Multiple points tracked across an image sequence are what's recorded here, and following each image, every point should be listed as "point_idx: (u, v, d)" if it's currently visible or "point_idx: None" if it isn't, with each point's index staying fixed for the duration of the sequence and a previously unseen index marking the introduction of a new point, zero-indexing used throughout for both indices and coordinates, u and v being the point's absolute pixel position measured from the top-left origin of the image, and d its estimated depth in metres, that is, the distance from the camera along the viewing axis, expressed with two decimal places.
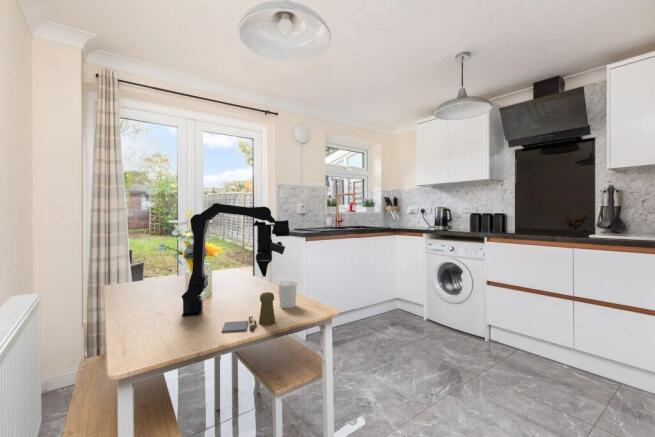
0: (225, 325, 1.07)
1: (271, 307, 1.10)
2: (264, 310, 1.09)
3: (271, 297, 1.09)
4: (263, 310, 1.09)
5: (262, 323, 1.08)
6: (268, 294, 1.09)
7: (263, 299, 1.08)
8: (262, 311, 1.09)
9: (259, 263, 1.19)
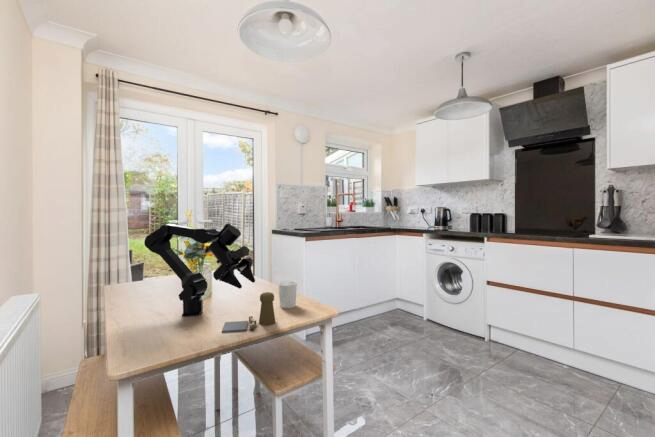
0: (225, 325, 1.07)
1: (271, 307, 1.10)
2: (264, 310, 1.09)
3: (271, 297, 1.09)
4: (263, 310, 1.09)
5: (262, 323, 1.08)
6: (268, 294, 1.09)
7: (263, 299, 1.08)
8: (262, 311, 1.09)
9: (225, 280, 1.08)
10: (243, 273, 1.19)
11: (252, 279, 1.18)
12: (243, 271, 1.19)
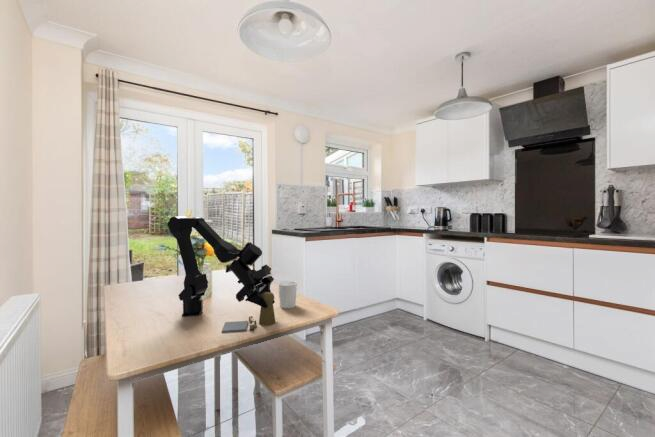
0: (225, 325, 1.07)
1: (271, 307, 1.10)
2: (264, 310, 1.09)
3: (271, 297, 1.09)
4: (263, 310, 1.09)
5: (262, 323, 1.08)
6: (268, 294, 1.09)
7: None
8: (262, 311, 1.09)
9: (251, 300, 1.08)
10: None
11: None
12: (262, 291, 1.15)
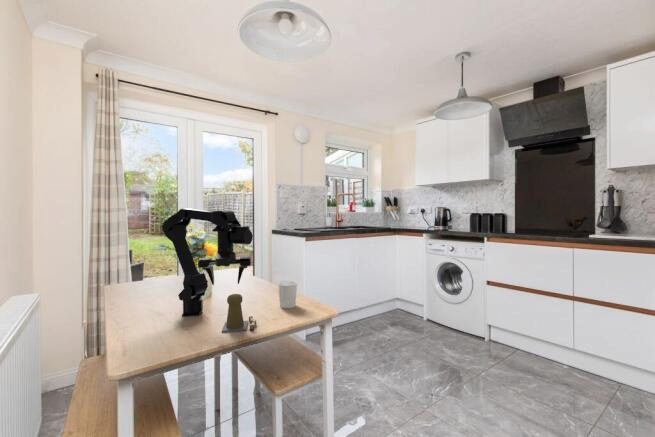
0: (225, 325, 1.07)
1: (237, 310, 1.05)
2: (229, 313, 1.04)
3: (237, 299, 1.04)
4: (229, 312, 1.05)
5: (227, 326, 1.04)
6: (234, 296, 1.05)
7: (228, 301, 1.04)
8: (228, 313, 1.05)
9: None
10: None
11: None
12: None
